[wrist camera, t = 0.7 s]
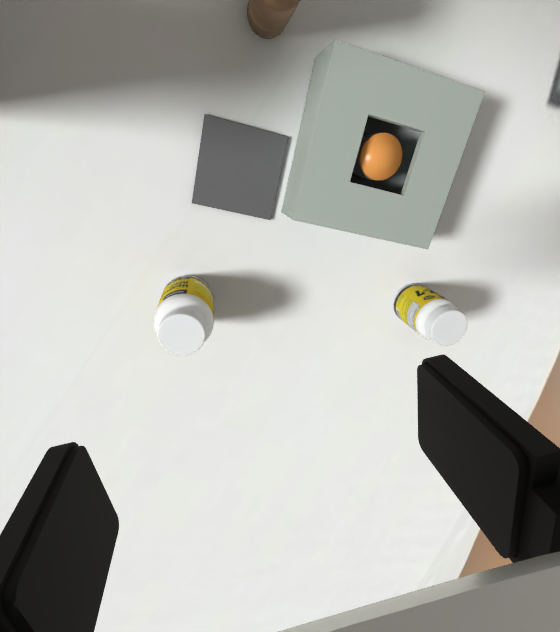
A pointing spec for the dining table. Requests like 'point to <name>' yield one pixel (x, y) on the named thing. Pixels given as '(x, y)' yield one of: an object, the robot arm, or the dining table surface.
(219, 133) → the pad
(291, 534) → the dining table surface
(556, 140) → the dining table surface
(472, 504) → the robot arm
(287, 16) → the dowel
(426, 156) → the grey square block
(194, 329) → the supplement bottle
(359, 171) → the orange dome button
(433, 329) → the supplement bottle
